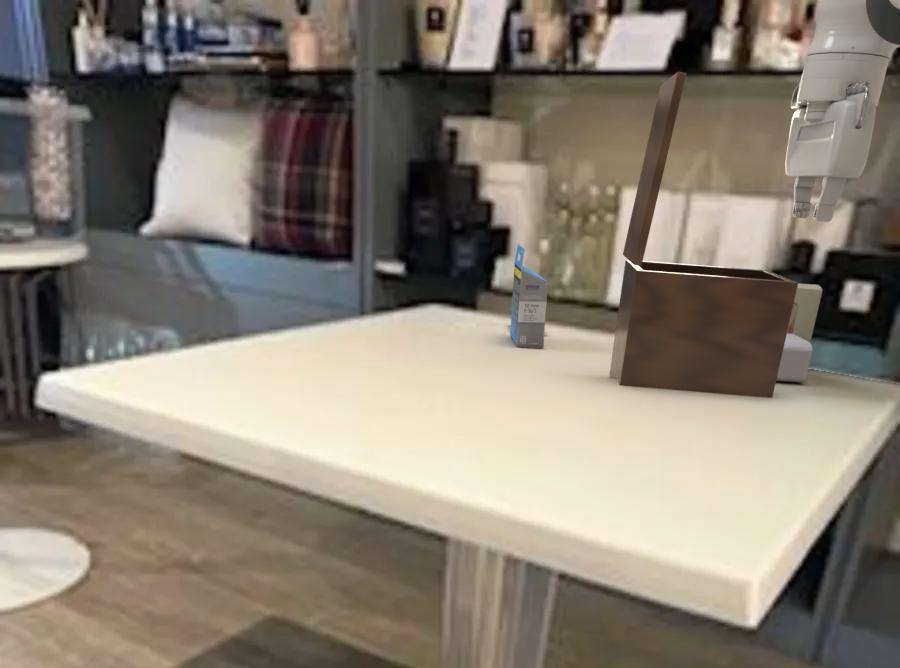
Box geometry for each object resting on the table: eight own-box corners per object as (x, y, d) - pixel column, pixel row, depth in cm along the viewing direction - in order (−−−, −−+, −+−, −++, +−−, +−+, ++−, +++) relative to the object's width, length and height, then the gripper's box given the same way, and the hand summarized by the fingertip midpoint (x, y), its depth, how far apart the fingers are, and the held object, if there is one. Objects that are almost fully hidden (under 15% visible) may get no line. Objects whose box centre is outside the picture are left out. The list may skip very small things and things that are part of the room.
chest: (743, 387, 102) (768, 270, 96) (769, 413, 90) (798, 282, 85) (609, 376, 102) (625, 259, 97) (617, 400, 91) (636, 270, 86)
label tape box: (544, 348, 116) (554, 249, 111) (513, 347, 116) (522, 247, 110) (535, 337, 124) (545, 244, 118) (507, 335, 124) (515, 242, 118)
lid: (668, 86, 89) (660, 85, 89) (686, 73, 78) (677, 71, 78) (629, 255, 97) (622, 254, 97) (641, 266, 85) (633, 264, 85)
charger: (666, 361, 113) (781, 369, 113) (680, 376, 105) (804, 385, 105) (672, 323, 111) (790, 332, 111) (687, 335, 103) (814, 344, 103)
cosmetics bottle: (767, 359, 120) (784, 281, 115) (801, 362, 119) (819, 284, 114) (769, 366, 115) (787, 285, 111) (804, 369, 114) (823, 288, 110)
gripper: (902, 81, 91) (865, 226, 97) (840, 97, 109) (812, 217, 115) (841, 77, 91) (808, 221, 97) (789, 93, 109) (764, 214, 115)
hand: (810, 219), depth 106 cm, fingers open, 8 cm apart
